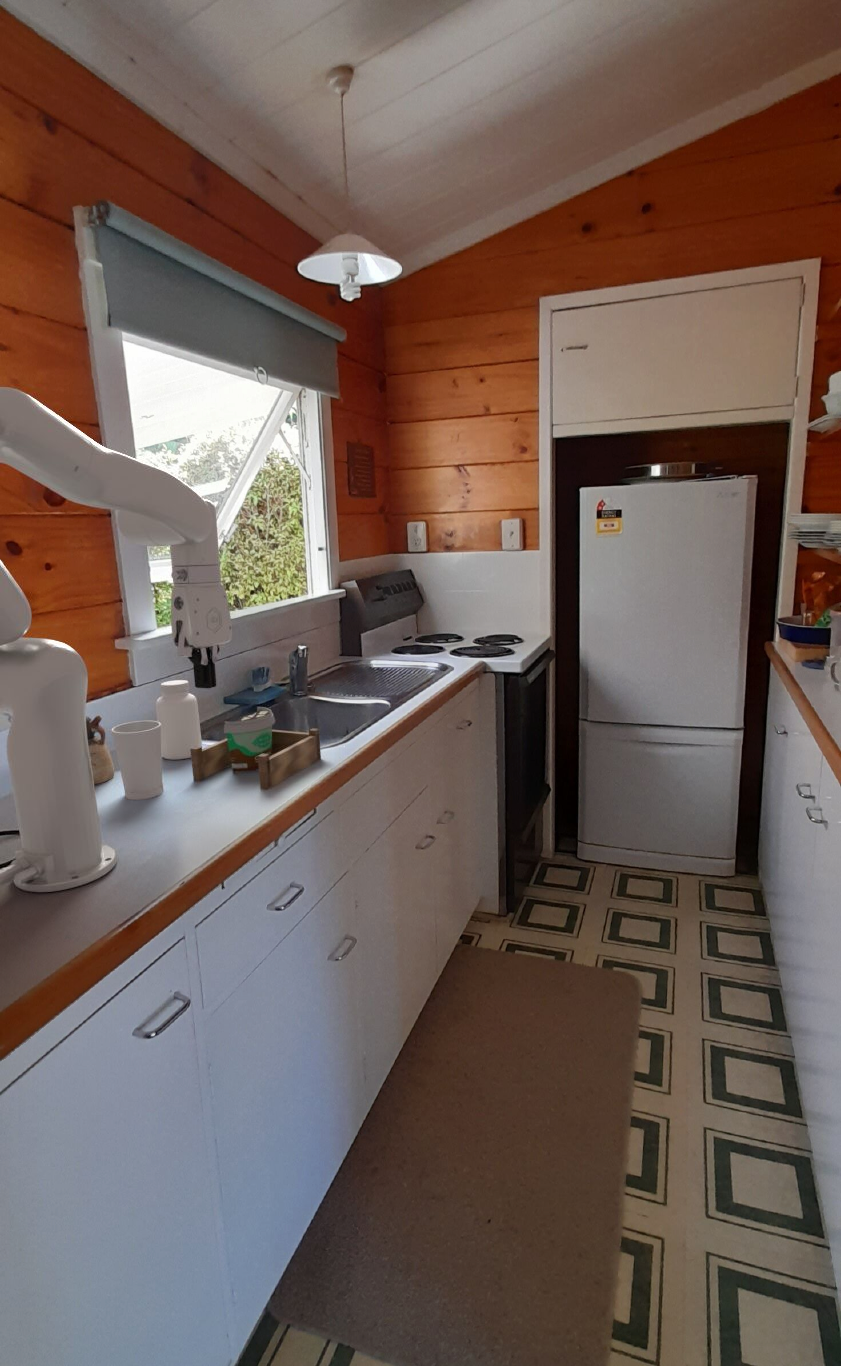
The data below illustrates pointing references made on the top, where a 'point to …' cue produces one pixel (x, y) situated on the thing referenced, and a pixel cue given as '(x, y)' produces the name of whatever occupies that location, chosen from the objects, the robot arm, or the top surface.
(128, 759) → the cup
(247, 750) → the food container
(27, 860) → the robot arm
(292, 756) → the crate
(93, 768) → the figurine
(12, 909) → the top surface
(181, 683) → the pill bottle
